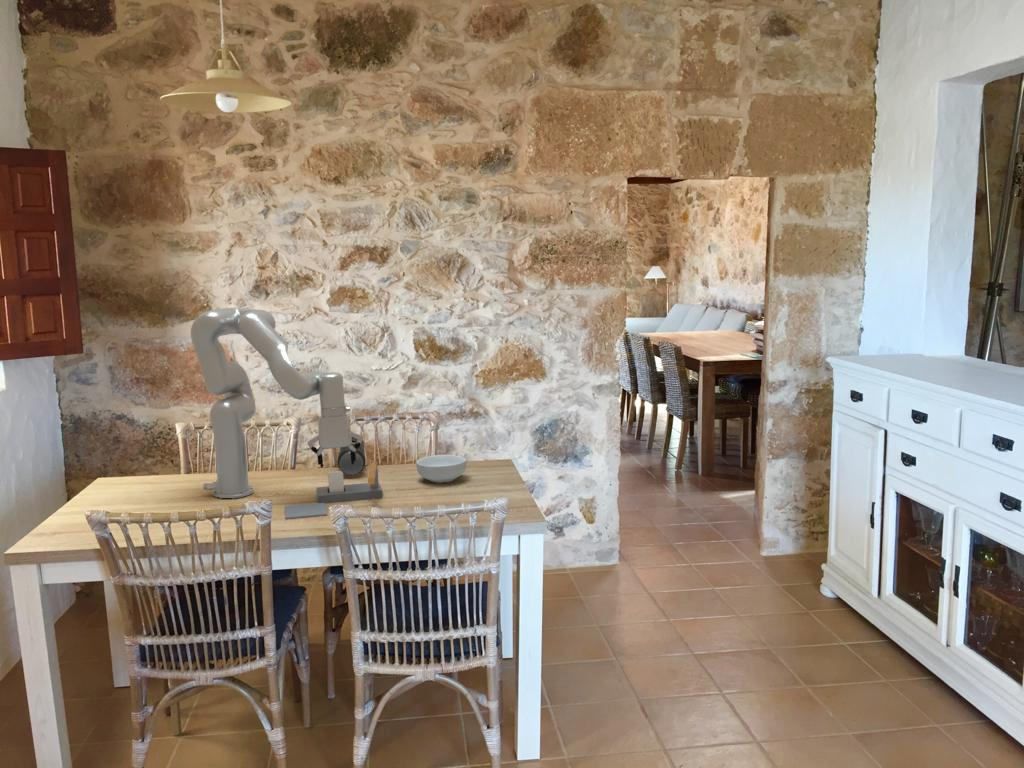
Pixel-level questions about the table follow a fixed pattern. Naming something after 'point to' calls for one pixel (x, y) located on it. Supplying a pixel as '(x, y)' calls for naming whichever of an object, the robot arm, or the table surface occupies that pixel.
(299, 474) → the table surface
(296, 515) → the mat
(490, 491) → the table surface
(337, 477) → the plug
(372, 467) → the orange wooden bar
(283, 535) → the table surface
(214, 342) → the robot arm
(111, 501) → the table surface
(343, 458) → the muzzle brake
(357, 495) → the socket block
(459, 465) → the cereal bowl
